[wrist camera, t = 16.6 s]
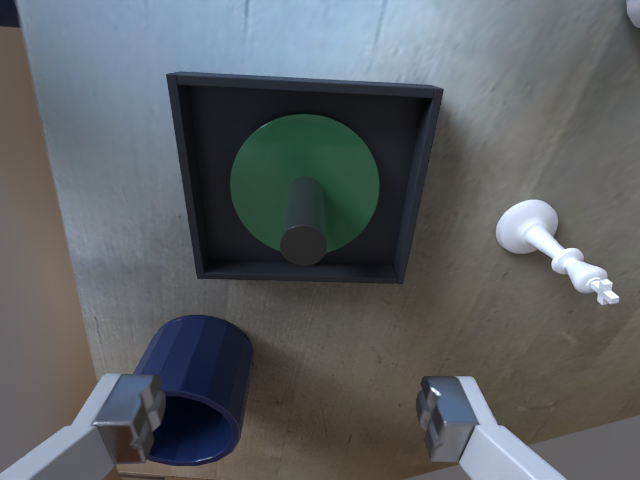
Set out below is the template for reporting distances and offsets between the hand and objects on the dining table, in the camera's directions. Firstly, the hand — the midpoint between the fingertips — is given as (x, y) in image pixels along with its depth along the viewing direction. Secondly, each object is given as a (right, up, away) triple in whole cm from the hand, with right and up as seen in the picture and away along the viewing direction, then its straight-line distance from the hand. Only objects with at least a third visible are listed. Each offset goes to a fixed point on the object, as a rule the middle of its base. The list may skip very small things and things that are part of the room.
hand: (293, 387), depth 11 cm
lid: (0, +8, +15) cm, 18 cm away
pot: (-11, -7, +25) cm, 29 cm away
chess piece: (+18, +6, +19) cm, 27 cm away
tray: (0, +9, +16) cm, 19 cm away
